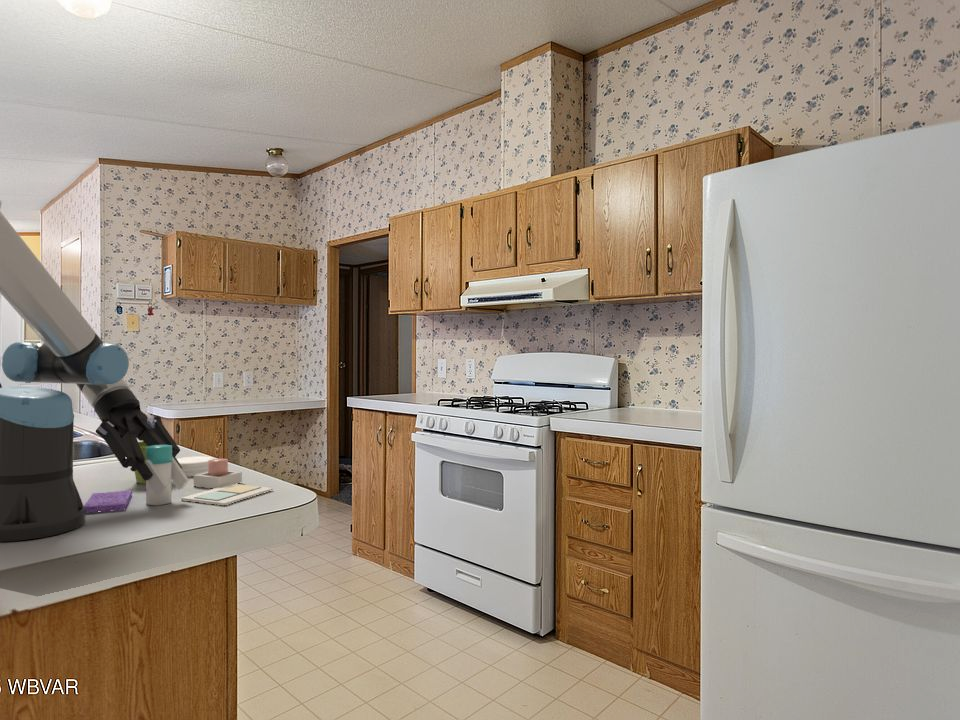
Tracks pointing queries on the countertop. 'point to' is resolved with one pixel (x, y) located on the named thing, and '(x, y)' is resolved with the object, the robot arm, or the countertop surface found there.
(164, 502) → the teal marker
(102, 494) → the sponges
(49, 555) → the countertop surface
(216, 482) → the button housing
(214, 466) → the button
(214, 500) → the picture card
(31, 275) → the robot arm
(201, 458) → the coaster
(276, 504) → the countertop surface
